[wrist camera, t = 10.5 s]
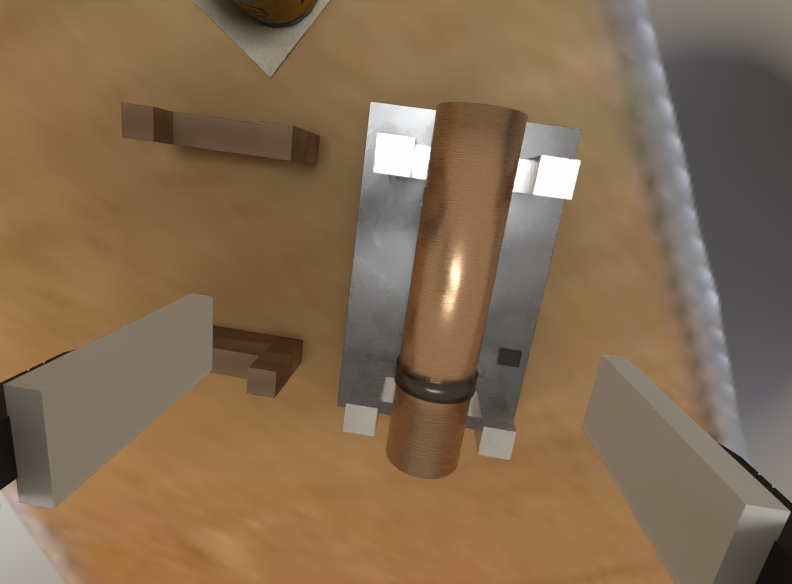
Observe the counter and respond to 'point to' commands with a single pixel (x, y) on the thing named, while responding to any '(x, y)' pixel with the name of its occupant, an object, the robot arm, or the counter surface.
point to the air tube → (452, 282)
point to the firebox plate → (393, 262)
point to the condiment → (263, 25)
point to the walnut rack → (234, 349)
